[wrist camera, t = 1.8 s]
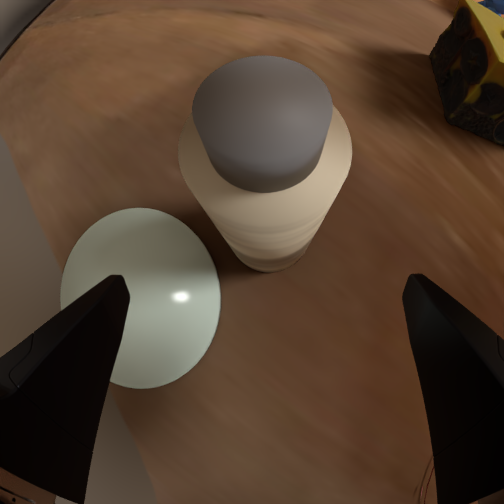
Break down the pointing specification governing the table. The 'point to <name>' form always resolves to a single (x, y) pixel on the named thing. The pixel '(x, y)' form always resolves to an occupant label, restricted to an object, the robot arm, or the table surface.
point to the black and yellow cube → (472, 70)
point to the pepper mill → (265, 157)
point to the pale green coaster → (151, 292)
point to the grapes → (494, 6)
